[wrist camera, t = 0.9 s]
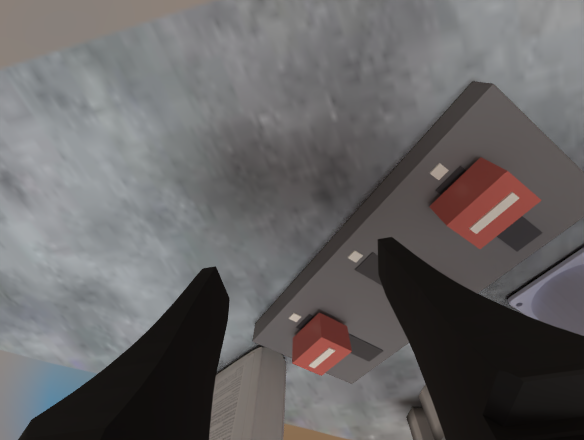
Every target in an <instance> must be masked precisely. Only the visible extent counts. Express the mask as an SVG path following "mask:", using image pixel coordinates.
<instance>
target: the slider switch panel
mask: <svg viewBox="0 0 584 440" xmlns="http://www.w3.org/2000/svg"><path fill="white" fill-rule="evenodd" d="M480 157H482V158H483V159H485V160H487V161H489V162H491V163H493V164H495V165H497V166H499V167H501V168H503V169H505V170H507V171H508V172H510V173H511V174H512V175H513V176H514V177H515V178H516V179H518V180H519V181H520V182H521V183H522V184H523V185H525V186H526V187H527V188H528V189H529V190H530V191H531V192H533V193H534V194H535V195H536V196H537V197H538V198H540V199H541V201H540V202H539V203H538V204H536V205H535V206H534V207H533V208H531V209H530V210H529V211H528V212H526V213H525V214H524V215H523V216H521V217H520V218H519V219H518V220H516V221H515V222H514V223H513V224H511V225H510V226H509V227H508V228H506V229H505V230H504V231H503V232H501V233H500V234H499V235H498V236H496V237H495V238H494V239H493V240H491V241H490V242H489V243H487V244H486V245H485V246H484V247H482V248H481V249H479V248H477V247H476V246H474V245H473V244H472V243H470V242H469V241H467V240H466V239H465V238H463V237H462V236H460V235H459V234H458V233H456V232H455V231H453V230H452V229H451V228H449V227H448V226H446V225H445V223H444V222H443V221H442V220H441V219H440V218H439V217H438V216H437V215H436V214H435V213H434V211H433V210H432V209H431V208H430V207H429V206H430V205H431V204H432V203H433V202H435V201H436V200H437V199H438V198H439V197H440V196H441V195H442V194H443V193H444V192H445V191H446V190H447V189H448V188H449V187H450V186H451V185H452V184H453V183H454V182H455V181H456V180H457V179H458V178H459V177H461V176H462V175H463V174H464V173H465V172H466V171H467V170H468V169H469V168H470V167H471V166H472V165H473V164H474V163H475V162H476V161H477V160H478V159H479V158H480ZM583 217H584V172H583V171H582V170H581V169H580V168H579V167H578V166H577V165H576V164H575V163H574V162H573V161H572V160H571V159H570V158H569V157H568V156H567V155H566V154H565V153H564V152H563V151H562V150H561V149H559V148H558V147H557V146H556V145H555V144H554V143H553V142H552V141H551V140H550V139H549V138H548V137H547V136H546V135H545V134H544V133H543V132H542V131H541V130H540V129H539V128H538V127H537V126H536V125H535V124H534V123H533V122H532V121H531V120H530V119H529V118H528V117H527V116H526V115H525V114H524V113H523V112H522V111H521V110H520V109H519V108H518V107H517V106H516V105H515V104H514V103H513V102H512V101H511V100H510V99H509V98H507V97H506V96H505V95H504V94H503V93H502V92H501V91H500V90H499V89H498V88H497V87H496V86H495V85H494V84H491V83H482V82H472V83H471V84H470V85H469V86H468V87H467V88H466V90H465V91H464V92H463V93H462V94H461V95H460V96H459V97H458V99H457V100H456V101H455V102H454V103H453V104H452V105H451V106H450V107H449V109H448V110H447V111H446V112H445V113H444V114H443V115H442V116H441V117H440V119H439V120H438V121H437V122H436V123H435V124H434V125H433V126H432V127H431V129H430V130H429V131H428V132H427V133H426V134H425V135H424V136H423V137H422V139H421V140H420V141H419V142H418V143H417V144H416V145H415V146H414V148H413V149H412V150H411V151H410V152H409V153H408V154H407V155H406V156H405V158H404V159H403V160H402V161H401V162H400V163H399V164H398V165H397V166H396V168H395V169H394V170H393V171H392V172H391V173H390V174H389V175H388V176H387V178H386V179H385V180H384V181H383V182H382V183H381V184H380V185H379V187H378V188H377V189H376V190H375V191H374V192H373V193H372V194H371V195H370V197H369V198H368V199H367V200H366V201H365V202H364V203H363V204H362V205H361V207H360V208H359V209H358V210H357V211H356V212H355V213H354V214H353V215H352V217H351V218H350V219H349V220H348V221H347V222H346V223H345V224H344V225H343V227H342V228H341V229H340V230H339V231H338V232H337V233H336V234H335V236H334V237H333V238H332V239H331V240H330V241H329V242H328V243H327V244H326V246H325V247H324V248H323V249H322V250H321V251H320V252H319V253H318V254H317V256H316V257H315V258H314V259H313V260H312V261H311V262H310V263H309V264H308V266H307V267H306V268H305V269H304V270H303V271H302V272H301V273H300V274H299V276H298V277H297V278H296V279H295V280H294V281H293V282H292V283H291V285H290V286H289V287H288V288H287V289H286V290H285V291H284V292H283V293H282V295H281V296H280V297H279V298H278V299H277V300H276V301H275V302H274V303H273V305H272V306H271V307H270V308H269V309H268V310H267V311H266V312H265V313H264V315H263V316H262V317H261V318H260V319H259V320H258V321H257V322H256V324H255V328H254V335H253V341H252V342H255V343H257V344H259V345H262V346H264V347H266V348H269V349H271V350H273V351H276V352H278V353H281V354H283V355H285V356H288V357H290V358H292V346H293V337H294V336H295V335H296V334H297V333H298V332H299V331H300V330H301V329H302V328H304V327H305V326H306V325H307V324H308V323H309V322H310V321H311V320H312V319H313V318H314V317H315V316H316V315H317V314H318V313H319V312H320V313H322V314H324V315H326V316H328V317H330V318H332V319H334V320H336V321H338V322H340V323H342V324H344V325H346V326H347V328H348V333H349V339H350V344H351V349H352V352H351V353H349V354H348V355H347V356H346V357H344V358H343V359H342V360H341V361H339V362H338V363H337V364H336V365H334V366H333V367H332V368H331V369H329V370H328V371H327V372H325V373H327V374H330V375H332V376H334V377H337V378H339V379H341V380H344V381H346V382H348V383H351V384H353V383H354V382H355V381H357V380H358V379H359V378H361V377H362V376H364V375H365V374H366V373H368V372H369V371H371V370H372V369H373V368H375V367H376V366H378V365H379V364H380V363H382V362H383V361H384V360H386V359H387V358H389V357H390V356H391V355H393V354H394V353H396V352H397V351H398V350H400V349H401V348H402V347H404V346H405V345H407V344H408V343H409V341H408V339H407V337H406V335H405V333H404V331H403V329H402V327H401V325H400V323H399V321H398V319H397V317H396V315H395V313H394V311H393V309H392V307H391V305H390V303H389V301H388V299H387V297H386V295H385V292H384V289H383V286H382V283H381V281H380V278H379V275H378V239H382V238H388V237H393V238H394V239H395V240H397V241H398V242H399V243H401V244H402V245H403V246H405V247H406V248H407V249H408V250H410V251H411V252H412V253H414V254H415V255H416V256H418V257H419V258H420V259H422V260H423V261H425V262H426V263H427V264H429V265H430V266H432V267H433V268H435V269H436V270H438V271H439V272H441V273H442V274H444V275H446V276H447V277H449V278H450V279H452V280H454V281H455V282H457V283H459V284H461V285H462V286H464V287H466V288H468V289H470V290H472V291H474V292H475V293H479V292H480V291H482V290H483V289H484V288H486V287H487V286H489V285H490V284H491V283H493V282H494V281H496V280H497V279H498V278H500V277H501V276H502V275H504V274H505V273H507V272H508V271H509V270H511V269H512V268H514V267H515V266H516V265H518V264H519V263H521V262H522V261H523V260H525V259H526V258H527V257H529V256H530V255H532V254H533V253H534V252H536V251H537V250H539V249H540V248H541V247H543V246H544V245H546V244H547V243H548V242H550V241H551V240H552V239H554V238H555V237H557V236H558V235H559V234H561V233H562V232H564V231H565V230H566V229H568V228H569V227H571V226H572V225H573V224H575V223H576V222H577V221H579V220H580V219H582V218H583Z"/></svg>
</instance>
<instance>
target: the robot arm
mask: <svg viewBox="0 0 584 440" xmlns="http://www.w3.org/2000/svg"><path fill="white" fill-rule="evenodd" d="M378 275H379V278H380V281H381V283H382V286H383V289H384V292H385V295H386V297H387V299H388V301H389V303H390V305H391V307H392V309H393V311H394V313H395V315H396V317H397V319H398V321H399V323H400V325H401V327H402V329H403V331H404V333H405V335H406V337H407V339H408V341H409V343H410V345H411V347H412V350H413V352H414V354H415V357H416V360H417V362H418V365H419V367H420V370H421V372H422V375H423V378H424V380H425V383H426V386H427V388H428V391H429V394H430V397H431V399H432V402H433V405H434V408H435V410H436V413H437V416H438V419H439V422H440V425H441V428H442V430H443V433H444V436H445V439H446V440H584V247H583V248H582V249H580V250H579V251H577V252H576V253H574V254H573V255H571V256H570V257H568V258H567V259H565V260H564V261H563V262H561V263H560V264H558V265H557V266H555V267H554V268H552V269H551V270H549V271H548V272H546V273H545V274H543V275H542V276H540V277H539V278H537V279H536V280H534V281H533V282H531V283H530V284H528V285H527V286H525V287H524V288H522V289H521V290H519V291H518V292H517V293H515V294H514V295H512V296H511V297H509V298H508V300H507V301H508V303H509V304H510V305H511V306H513V307H514V308H516V309H517V310H519V311H520V312H522V313H523V314H521V313H519V312H516V311H514V310H512V309H509V308H507V307H505V306H503V305H500V304H498V303H496V302H494V301H492V300H490V299H487V298H485V297H483V296H481V295H479V294H477V293H475V292H474V291H472V290H470V289H468V288H466V287H464V286H462V285H461V284H459V283H457V282H455V281H454V280H452V279H450V278H449V277H447V276H446V275H444V274H442V273H441V272H439V271H438V270H436V269H435V268H433V267H432V266H430V265H429V264H427V263H426V262H425V261H423V260H422V259H420V258H419V257H418V256H416V255H415V254H414V253H412V252H411V251H410V250H408V249H407V248H406V247H405V246H403V245H402V244H401V243H399V242H398V241H397V240H395V239H394V238H393V237H388V238H382V239H378ZM228 312H229V296H228V294H227V292H226V289H225V287H224V285H223V282H222V280H221V277H220V275H219V273H218V270H217V268H216V267H210V268H204V269H202V270H201V271H200V272H199V273H198V275H197V276H196V277H195V278H194V279H193V281H192V282H191V283H190V284H189V285H188V287H187V288H186V289H185V290H184V291H183V293H182V294H181V295H180V296H179V297H178V299H177V300H176V301H175V302H174V303H173V304H172V306H171V307H170V308H169V309H168V310H167V311H166V312H165V313H164V314H163V315H162V316H161V318H160V319H159V320H158V321H157V322H156V323H155V324H154V325H153V326H152V327H151V328H150V329H149V330H148V331H147V332H146V333H145V334H144V335H143V336H142V337H141V338H140V339H139V340H138V341H137V342H135V343H134V344H133V345H132V346H131V347H130V348H129V349H128V350H126V351H125V352H124V353H123V354H122V355H120V356H119V357H118V358H117V359H116V360H115V361H113V362H112V363H111V364H110V365H109V366H107V367H106V368H105V369H104V370H102V371H101V372H100V373H98V374H97V375H96V376H95V377H93V378H92V379H91V380H89V381H88V382H86V383H85V384H84V385H82V386H81V387H80V388H78V389H77V390H76V391H74V392H73V393H71V394H70V395H68V396H67V397H65V398H64V399H63V400H61V401H59V402H58V403H56V404H55V405H53V406H52V407H50V408H49V409H47V410H46V411H44V412H43V413H41V414H40V415H38V416H37V417H35V418H33V419H32V420H31V422H30V423H29V425H28V426H27V427H26V429H25V430H24V432H23V433H22V435H21V436H20V438H19V439H18V440H209V433H210V422H211V412H212V402H213V393H214V385H215V378H216V372H217V367H218V363H219V358H220V353H221V349H222V344H223V340H224V335H225V331H226V326H227V321H228ZM524 314H525V315H524Z"/></svg>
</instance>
